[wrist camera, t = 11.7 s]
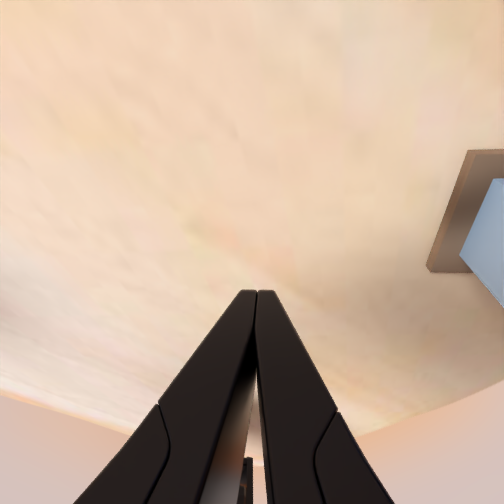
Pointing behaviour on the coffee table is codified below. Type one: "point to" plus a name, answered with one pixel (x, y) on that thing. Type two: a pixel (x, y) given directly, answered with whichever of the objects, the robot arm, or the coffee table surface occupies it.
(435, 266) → the brown square stand
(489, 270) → the pale blue foam brick
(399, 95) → the coffee table surface
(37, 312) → the coffee table surface
